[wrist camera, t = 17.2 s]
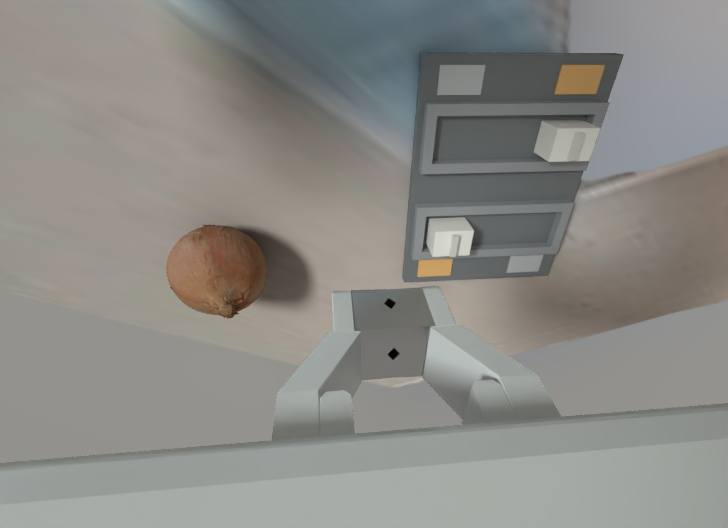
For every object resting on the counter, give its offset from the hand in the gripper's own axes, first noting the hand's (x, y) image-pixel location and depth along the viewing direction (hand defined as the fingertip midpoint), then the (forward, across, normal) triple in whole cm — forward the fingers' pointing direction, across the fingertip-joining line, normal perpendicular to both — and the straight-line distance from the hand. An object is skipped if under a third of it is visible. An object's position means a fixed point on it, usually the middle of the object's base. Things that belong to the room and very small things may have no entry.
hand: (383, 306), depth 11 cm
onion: (+29, +13, +15) cm, 35 cm away
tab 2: (+28, -21, +3) cm, 35 cm away
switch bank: (+29, -16, +8) cm, 34 cm away
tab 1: (+28, -11, +13) cm, 32 cm away
